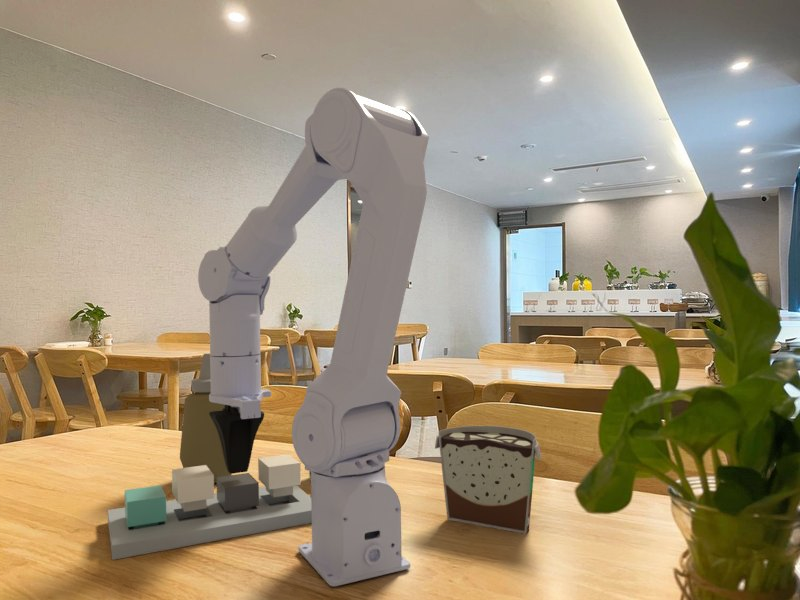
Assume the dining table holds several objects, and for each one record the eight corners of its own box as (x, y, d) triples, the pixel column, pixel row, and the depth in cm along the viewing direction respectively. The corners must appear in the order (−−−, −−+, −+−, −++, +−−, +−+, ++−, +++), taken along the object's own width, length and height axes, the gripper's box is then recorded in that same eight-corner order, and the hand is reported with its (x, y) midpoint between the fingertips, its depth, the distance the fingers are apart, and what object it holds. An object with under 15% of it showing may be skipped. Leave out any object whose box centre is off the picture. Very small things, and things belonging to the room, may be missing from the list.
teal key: (166, 531, 66) (166, 496, 66) (127, 538, 64) (127, 502, 64) (161, 518, 70) (161, 485, 70) (125, 524, 68) (124, 490, 68)
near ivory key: (300, 494, 72) (300, 462, 72) (269, 500, 71) (268, 467, 71) (288, 484, 77) (288, 454, 77) (258, 489, 75) (258, 458, 75)
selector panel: (324, 520, 70) (324, 508, 70) (112, 559, 60) (112, 545, 60) (292, 492, 81) (292, 481, 81) (108, 522, 70) (107, 509, 71)
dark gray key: (259, 515, 70) (258, 482, 70) (225, 521, 68) (224, 487, 68) (249, 504, 74) (248, 472, 74) (217, 509, 73) (216, 477, 73)
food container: (556, 518, 70) (555, 430, 70) (540, 536, 64) (538, 441, 64) (458, 502, 76) (457, 421, 76) (435, 517, 71) (434, 430, 71)
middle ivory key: (214, 508, 68) (213, 474, 68) (178, 514, 66) (177, 479, 66) (206, 497, 72) (206, 465, 72) (172, 502, 70) (172, 469, 70)
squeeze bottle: (167, 486, 84) (165, 356, 85) (200, 470, 92) (198, 351, 92) (220, 489, 82) (218, 356, 83) (248, 473, 90) (247, 351, 90)
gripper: (287, 357, 67) (289, 481, 67) (254, 350, 80) (256, 454, 80) (221, 360, 64) (223, 491, 64) (198, 352, 77) (199, 461, 76)
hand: (237, 471), depth 71 cm, fingers closed
